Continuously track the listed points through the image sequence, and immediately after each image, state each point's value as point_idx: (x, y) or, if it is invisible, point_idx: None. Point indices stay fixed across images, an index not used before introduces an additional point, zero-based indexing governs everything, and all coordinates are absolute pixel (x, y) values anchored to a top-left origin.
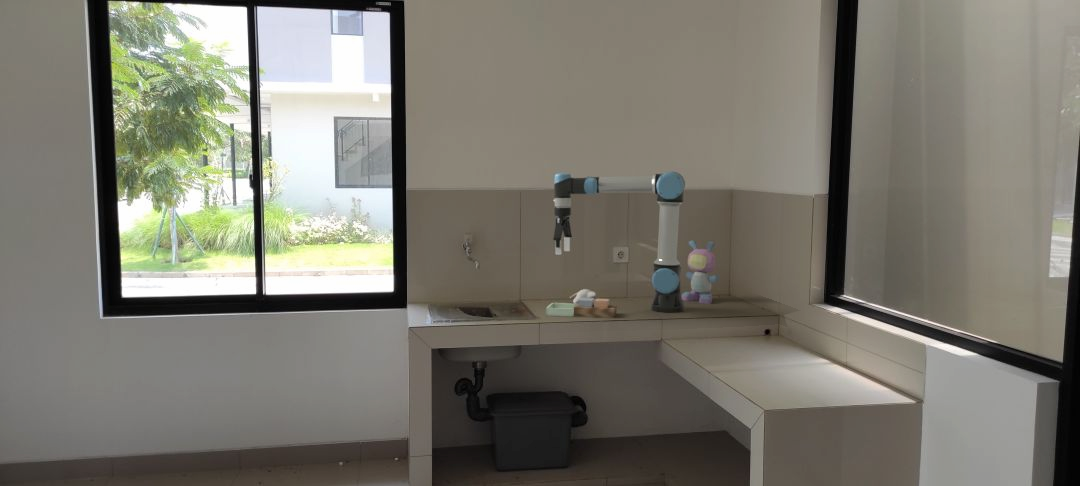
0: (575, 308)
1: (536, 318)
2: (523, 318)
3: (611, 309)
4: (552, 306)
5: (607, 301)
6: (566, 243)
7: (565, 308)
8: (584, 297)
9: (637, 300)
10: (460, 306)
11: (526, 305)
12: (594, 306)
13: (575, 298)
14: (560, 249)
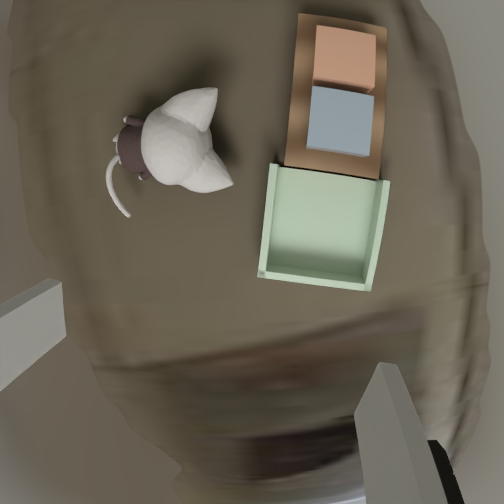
0: (378, 171)
1: (410, 305)
2: (406, 343)
3: (386, 34)
4: (286, 270)
5: (373, 35)
6: (9, 352)
7: (380, 213)
8: (206, 141)
9: (72, 19)
10: (241, 478)
11: (192, 355)
12: (368, 91)
13: (205, 182)
14: (410, 411)
